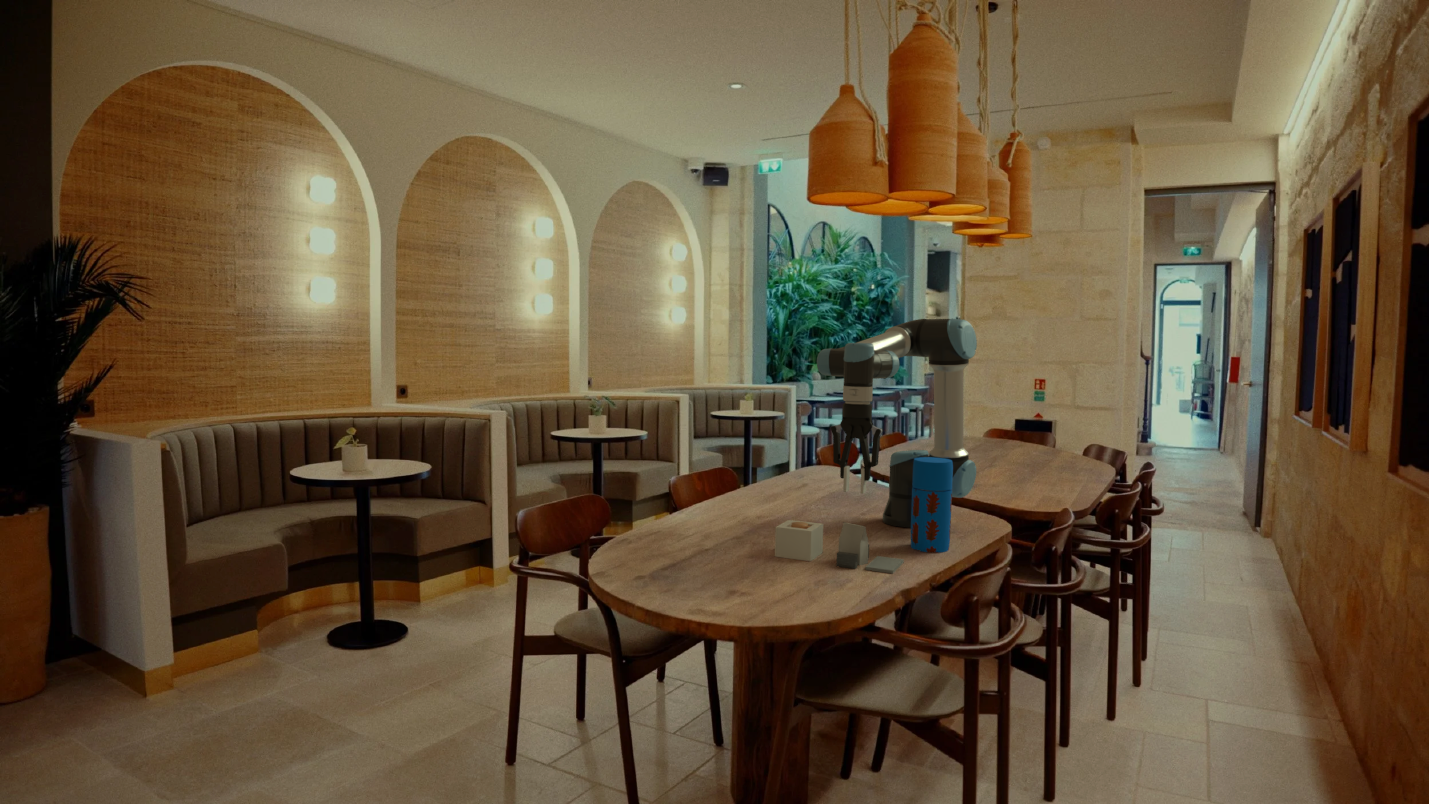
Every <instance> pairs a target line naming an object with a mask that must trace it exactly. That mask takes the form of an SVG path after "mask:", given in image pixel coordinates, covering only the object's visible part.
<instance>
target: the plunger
mask: <svg viewBox="0 0 1429 804" xmlns="http://www.w3.org/2000/svg"><path fill="white" fill-rule="evenodd" d="M805 522H806V521H803V522H793V523H792V526H791V527H795V528H803V529H807V528H809V527H811V526H808V523H805Z"/></svg>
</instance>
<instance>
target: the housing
mask: <svg viewBox="0 0 1429 804" xmlns="http://www.w3.org/2000/svg"><path fill="white" fill-rule="evenodd" d="M793 522H805V523H808V526H811V527H809V528H807V529H803V528H795V527H791V526H792V523H793ZM774 536H775V537H774V538H775V540H774V542H775V543H774V545H775V546H774V557H776V558H785V559H790V560H798V561H807V562H812V561H813V560H814V559H816V558H817V557H819V556H820V555H822V554H823V553H824V552H823V548H824V547H823V544H824V543H823V542H824V523H819V522H811V521H802V520H793V519H788V520H785V521H784V522H782V523H780V524H778V525H777V526H775V535H774Z"/></svg>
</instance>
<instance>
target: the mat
mask: <svg viewBox="0 0 1429 804" xmlns="http://www.w3.org/2000/svg"><path fill="white" fill-rule="evenodd" d="M904 561H905V559H904V558H898V557H897V558H896V557H888V556H880V555H876V557H874V559H873V560H871V561H870V562H868V563H867V564H866V566H865V568H864V569H865V571H870V570H872V571H871V572H877V573H878V572H879V573H887V574H892V575H893V574H894V573H895V572H897V570H898V569H899V568H900V567H901V566H902V565H903V563H904Z"/></svg>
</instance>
